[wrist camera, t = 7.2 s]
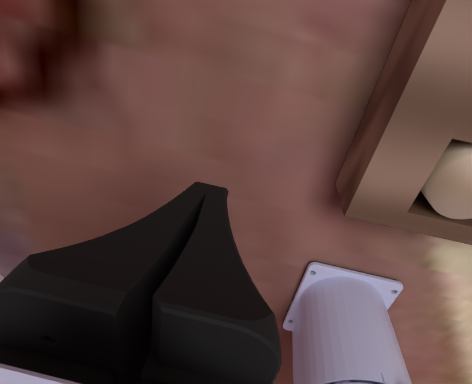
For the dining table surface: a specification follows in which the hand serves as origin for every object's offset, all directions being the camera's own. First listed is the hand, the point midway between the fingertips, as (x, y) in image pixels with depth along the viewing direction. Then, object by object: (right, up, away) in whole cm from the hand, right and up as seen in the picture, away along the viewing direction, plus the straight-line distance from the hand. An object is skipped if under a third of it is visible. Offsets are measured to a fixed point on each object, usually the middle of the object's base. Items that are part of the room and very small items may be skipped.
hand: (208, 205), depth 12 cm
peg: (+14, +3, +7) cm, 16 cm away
